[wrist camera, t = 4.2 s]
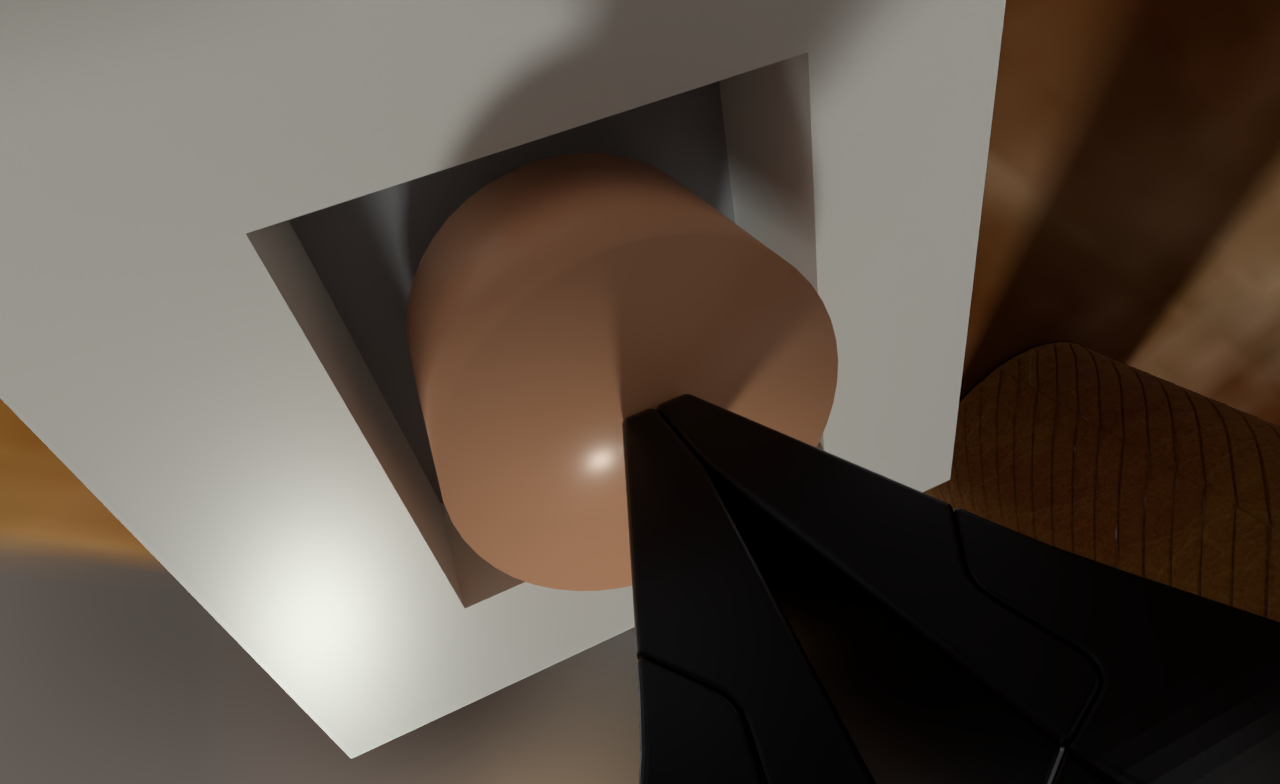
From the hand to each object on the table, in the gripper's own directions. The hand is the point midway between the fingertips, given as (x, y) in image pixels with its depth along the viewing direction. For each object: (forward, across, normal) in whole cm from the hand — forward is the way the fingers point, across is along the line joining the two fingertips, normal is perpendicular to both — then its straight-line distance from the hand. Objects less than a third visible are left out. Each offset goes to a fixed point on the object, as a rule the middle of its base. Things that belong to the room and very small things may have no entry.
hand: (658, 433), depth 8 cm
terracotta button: (+3, 0, 0) cm, 3 cm away
